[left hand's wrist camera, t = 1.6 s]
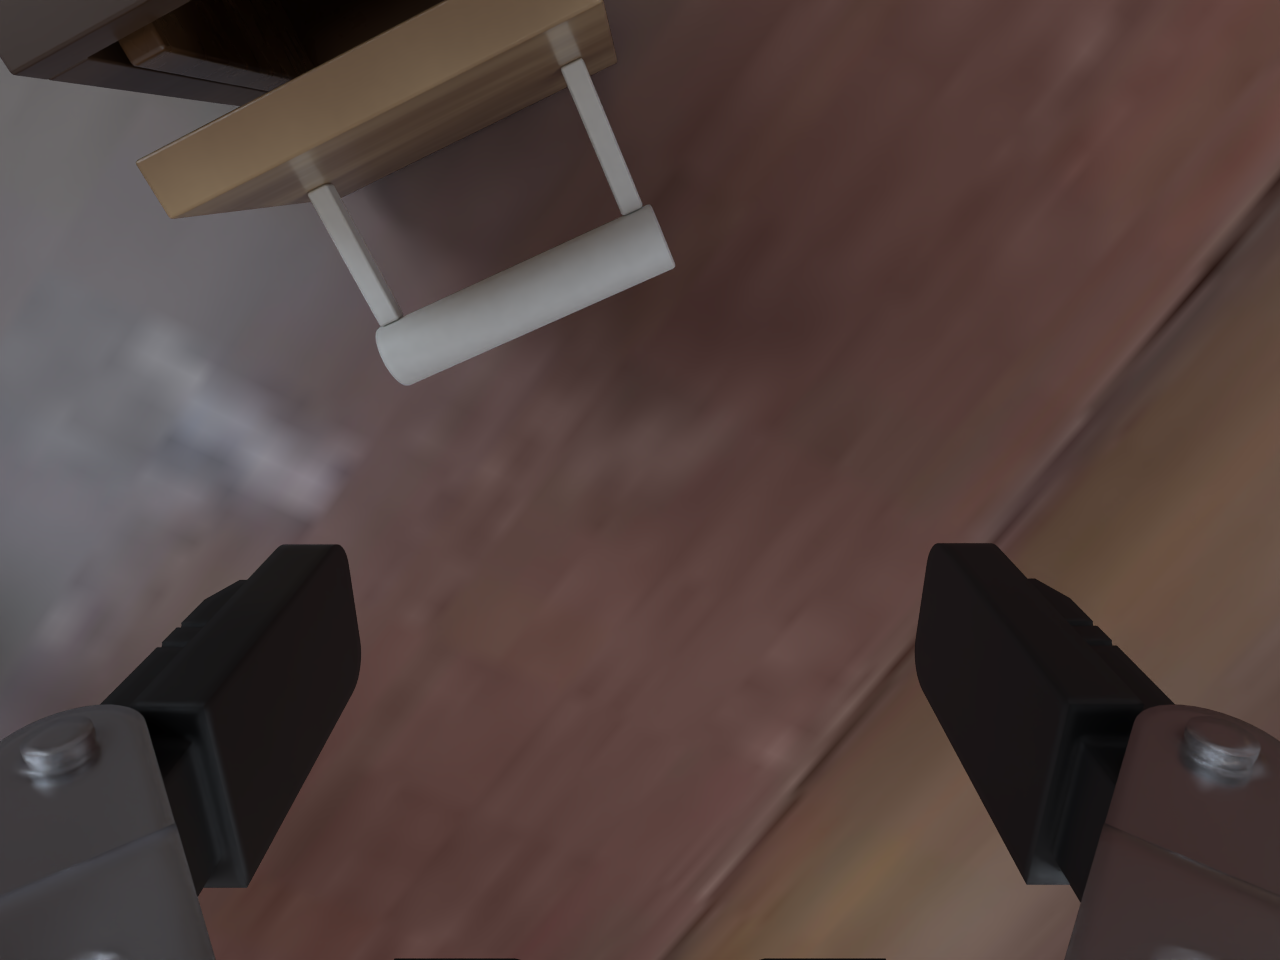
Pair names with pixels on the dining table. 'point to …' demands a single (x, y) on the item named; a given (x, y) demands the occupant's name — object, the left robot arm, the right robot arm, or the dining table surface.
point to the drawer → (396, 139)
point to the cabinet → (97, 47)
